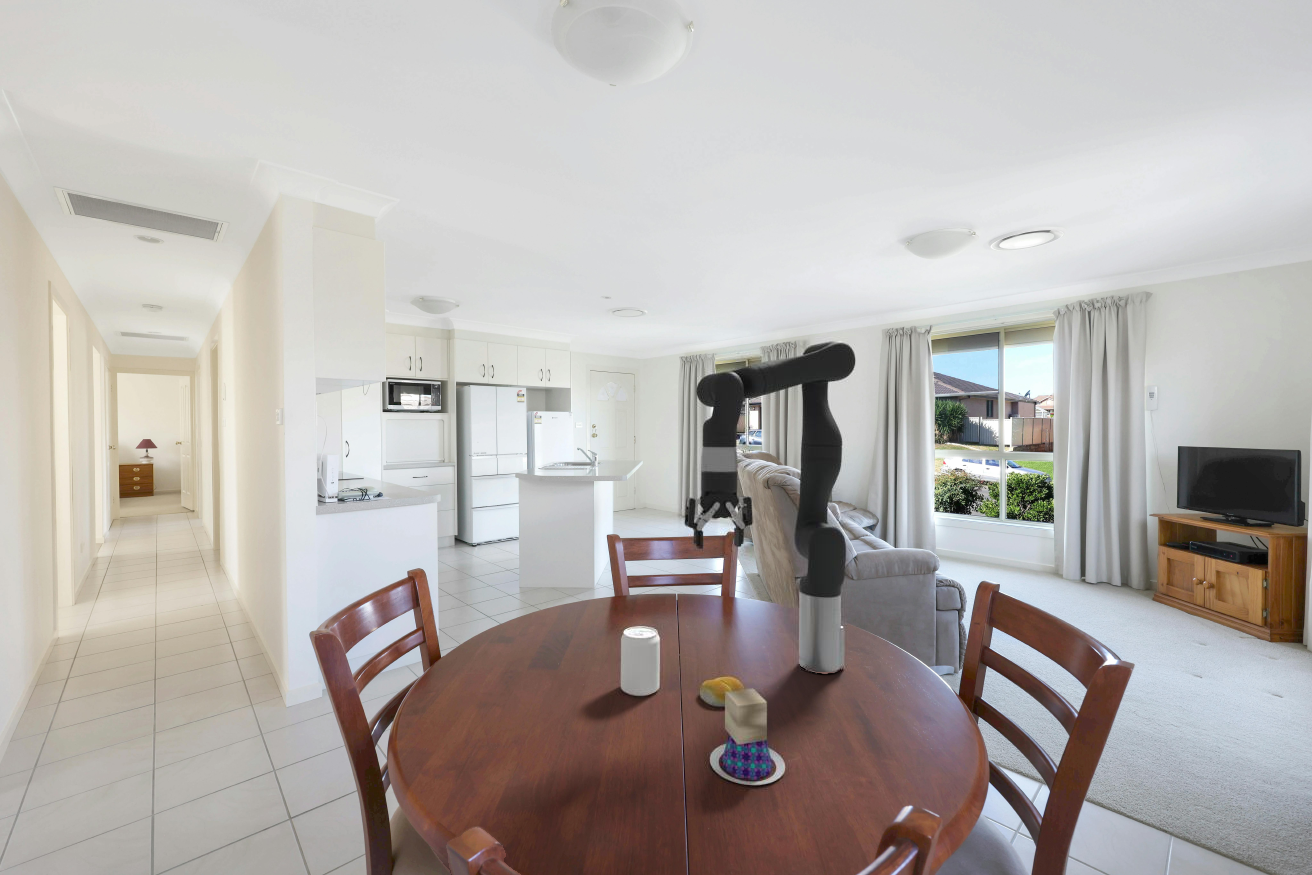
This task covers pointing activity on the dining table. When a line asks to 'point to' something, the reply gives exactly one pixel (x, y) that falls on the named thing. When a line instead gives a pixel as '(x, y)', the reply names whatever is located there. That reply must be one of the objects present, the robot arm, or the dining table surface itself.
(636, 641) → the beverage can
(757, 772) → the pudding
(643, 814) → the dining table surface
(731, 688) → the bread roll
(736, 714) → the beech block
